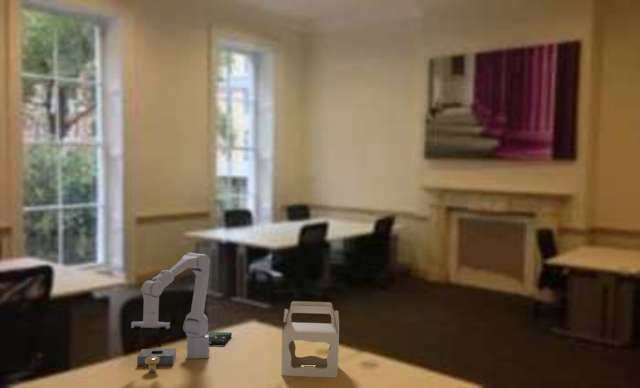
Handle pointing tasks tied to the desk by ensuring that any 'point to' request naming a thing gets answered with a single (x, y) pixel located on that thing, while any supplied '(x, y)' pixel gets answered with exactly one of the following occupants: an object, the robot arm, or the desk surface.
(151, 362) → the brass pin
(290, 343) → the gable box
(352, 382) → the desk surface
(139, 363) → the block
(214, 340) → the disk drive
